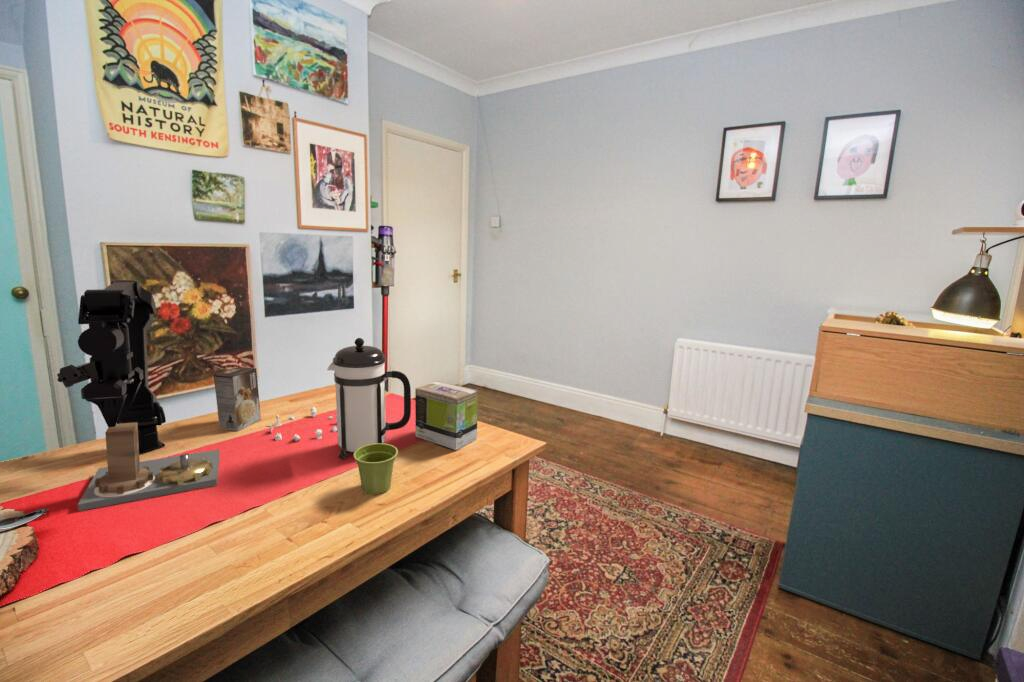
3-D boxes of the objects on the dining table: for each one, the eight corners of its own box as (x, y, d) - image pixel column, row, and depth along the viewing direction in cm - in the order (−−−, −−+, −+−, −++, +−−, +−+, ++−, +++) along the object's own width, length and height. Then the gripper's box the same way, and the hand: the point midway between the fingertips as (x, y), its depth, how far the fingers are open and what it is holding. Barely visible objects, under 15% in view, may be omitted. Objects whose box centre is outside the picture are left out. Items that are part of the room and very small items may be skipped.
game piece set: (293, 413, 145) (293, 402, 144) (354, 420, 143) (354, 408, 142) (251, 439, 126) (250, 426, 126) (320, 447, 124) (319, 433, 123)
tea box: (478, 439, 132) (479, 389, 129) (455, 451, 124) (456, 399, 121) (437, 426, 140) (438, 379, 137) (414, 437, 132) (413, 387, 128)
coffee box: (243, 417, 140) (238, 365, 137) (261, 419, 139) (257, 367, 135) (218, 429, 131) (212, 374, 128) (238, 431, 130) (233, 376, 127)
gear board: (99, 474, 105) (98, 467, 105) (219, 454, 116) (219, 448, 116) (79, 511, 91) (77, 503, 91) (217, 485, 103) (216, 478, 102)
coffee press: (361, 469, 112) (358, 348, 106) (319, 451, 121) (314, 338, 114) (412, 444, 127) (412, 336, 120) (372, 430, 135) (369, 328, 129)
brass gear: (149, 476, 102) (146, 457, 101) (198, 459, 110) (196, 442, 110) (172, 490, 97) (170, 470, 96) (221, 471, 106) (219, 453, 105)
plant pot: (406, 482, 107) (406, 447, 105) (382, 503, 99) (381, 465, 97) (371, 474, 110) (371, 440, 108) (345, 494, 101) (344, 457, 100)
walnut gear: (101, 475, 100) (97, 421, 98) (156, 469, 105) (153, 416, 102) (89, 497, 92) (85, 438, 90) (149, 489, 97) (146, 433, 94)
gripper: (78, 344, 102) (84, 413, 104) (41, 358, 86) (49, 439, 88) (141, 342, 108) (146, 408, 110) (118, 355, 91) (124, 432, 93)
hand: (118, 420), depth 100 cm, fingers open, 9 cm apart
